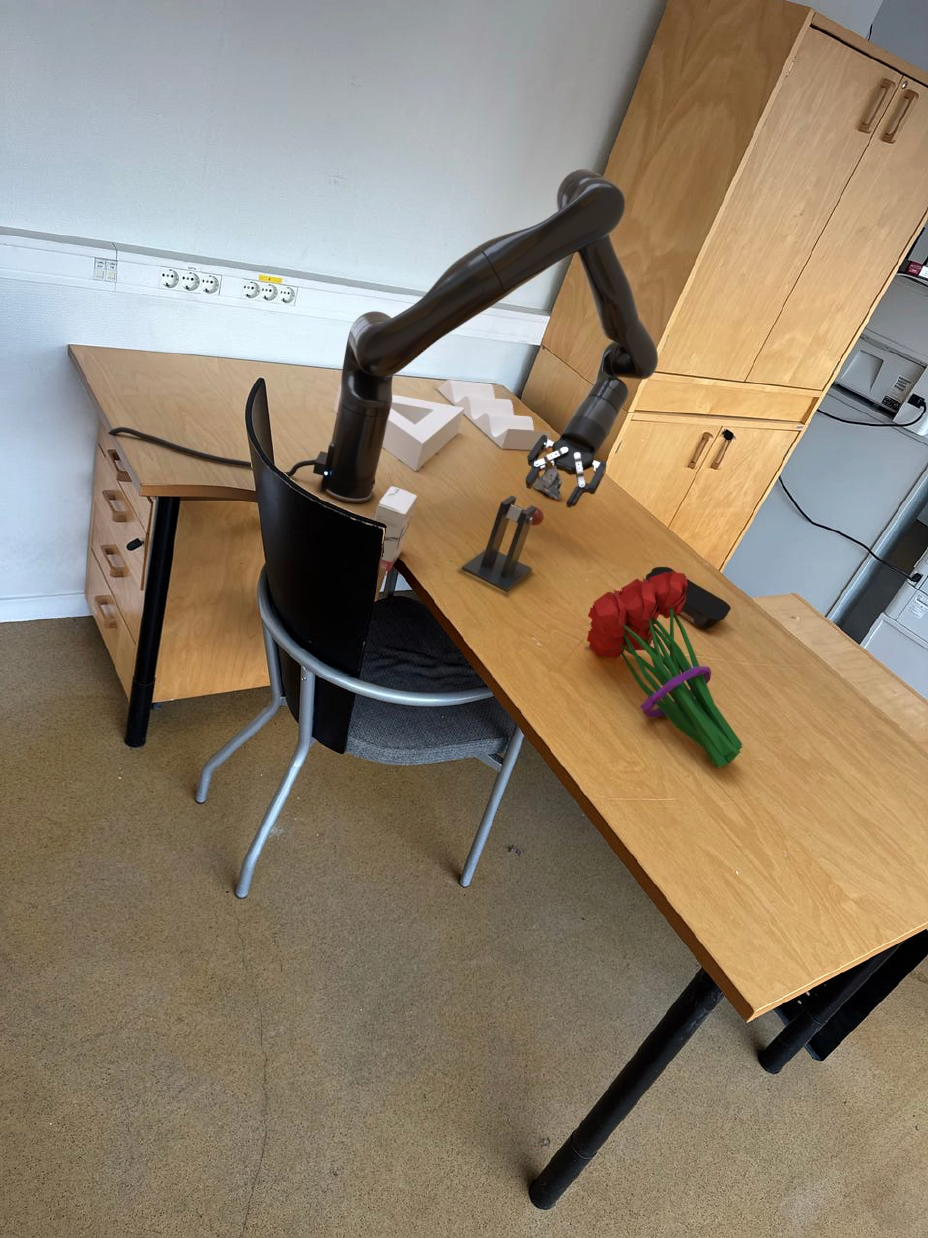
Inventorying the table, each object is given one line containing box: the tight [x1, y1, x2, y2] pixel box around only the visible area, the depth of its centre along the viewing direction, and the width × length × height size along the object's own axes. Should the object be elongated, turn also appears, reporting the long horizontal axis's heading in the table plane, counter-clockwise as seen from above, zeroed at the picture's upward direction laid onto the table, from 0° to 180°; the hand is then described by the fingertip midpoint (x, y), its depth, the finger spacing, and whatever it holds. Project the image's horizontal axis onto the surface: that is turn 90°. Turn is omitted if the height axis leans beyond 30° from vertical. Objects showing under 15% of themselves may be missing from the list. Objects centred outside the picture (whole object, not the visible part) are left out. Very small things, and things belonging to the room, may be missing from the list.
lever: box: [506, 504, 545, 527], centre depth 149 cm, size 15×3×3 cm, turn 151°
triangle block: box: [333, 384, 465, 472], centre depth 192 cm, size 30×26×6 cm
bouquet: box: [586, 570, 743, 769], centre depth 125 cm, size 20×16×30 cm
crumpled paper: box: [533, 466, 563, 500], centre depth 184 cm, size 4×8×7 cm, turn 30°
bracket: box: [461, 495, 538, 593], centre depth 146 cm, size 11×9×14 cm
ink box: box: [373, 485, 418, 573], centre depth 140 cm, size 9×5×12 cm, turn 168°
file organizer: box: [437, 379, 553, 451], centre depth 215 cm, size 13×35×5 cm, turn 28°
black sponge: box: [645, 566, 732, 630], centre depth 157 cm, size 16×8×4 cm, turn 46°
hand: (548, 496), depth 157 cm, fingers open, 8 cm apart
